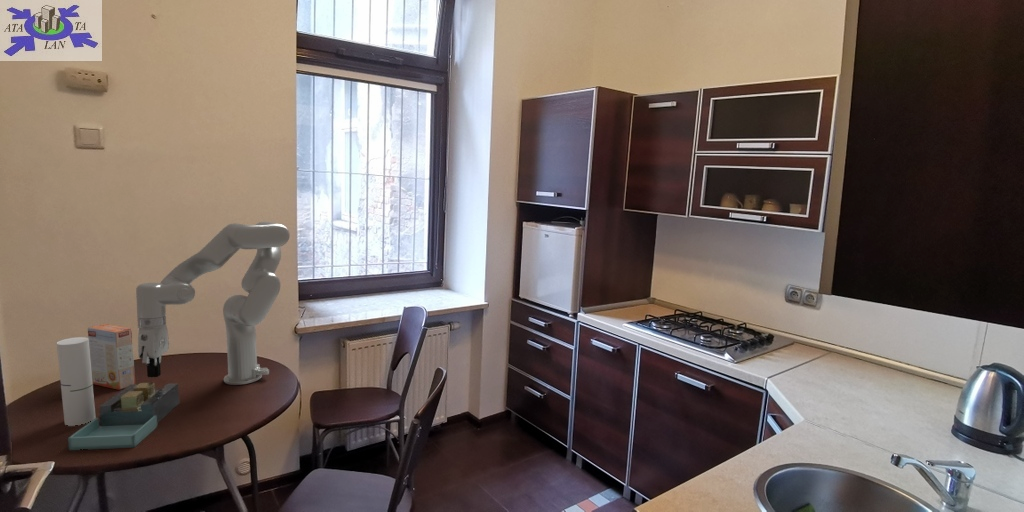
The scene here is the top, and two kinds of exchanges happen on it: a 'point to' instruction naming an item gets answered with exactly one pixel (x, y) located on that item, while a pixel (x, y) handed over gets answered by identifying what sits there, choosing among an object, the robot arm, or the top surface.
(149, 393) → the yellow wedge block
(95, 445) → the tray
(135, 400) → the yellow cube
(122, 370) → the cracker box
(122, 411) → the tray
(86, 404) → the cylindrical container
